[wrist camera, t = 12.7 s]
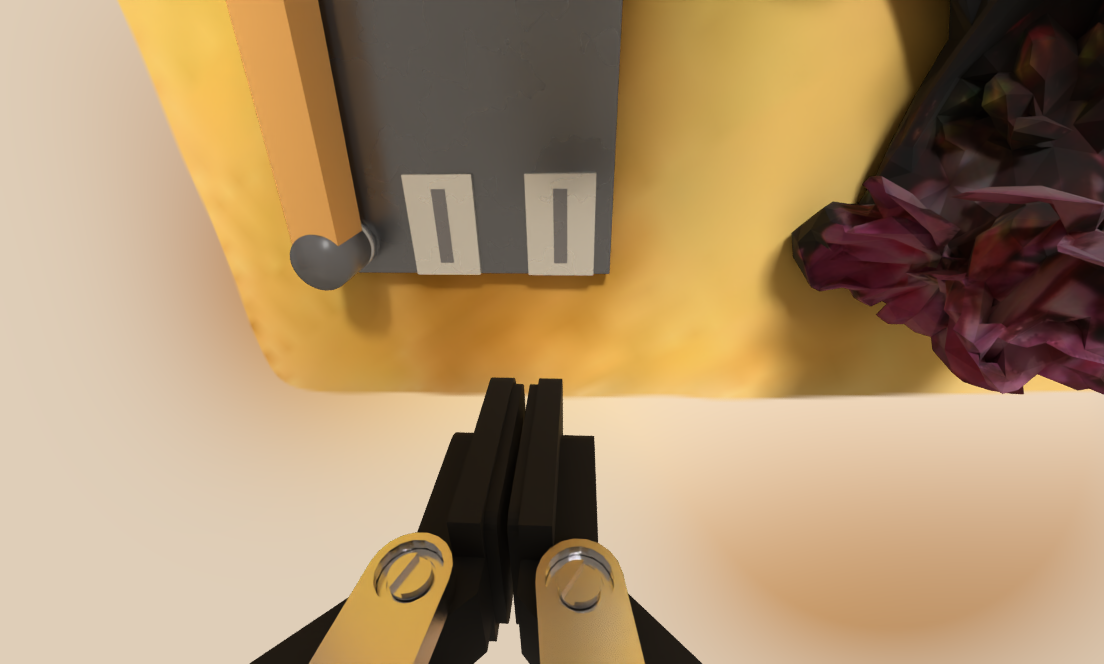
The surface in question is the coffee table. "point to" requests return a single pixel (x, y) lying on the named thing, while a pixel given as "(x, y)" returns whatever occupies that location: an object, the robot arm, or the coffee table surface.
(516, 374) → the coffee table surface
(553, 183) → the tray
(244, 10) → the bar
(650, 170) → the coffee table surface
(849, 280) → the flower arrangement
